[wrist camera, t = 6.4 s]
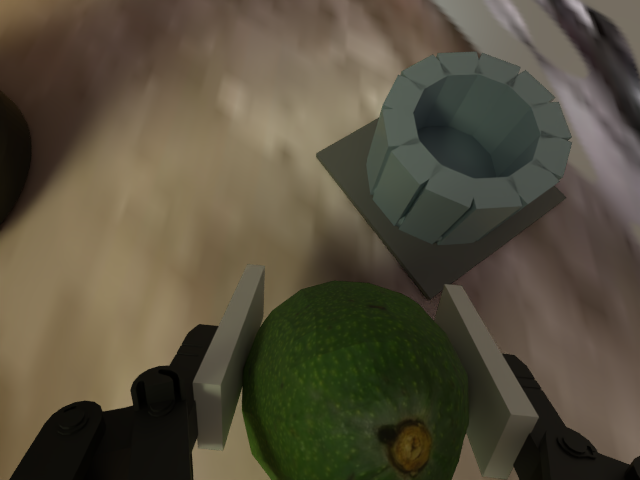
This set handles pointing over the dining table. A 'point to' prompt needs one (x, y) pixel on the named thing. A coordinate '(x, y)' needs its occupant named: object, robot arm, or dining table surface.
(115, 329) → the dining table surface
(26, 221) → the dining table surface
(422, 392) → the avocado
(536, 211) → the placemat
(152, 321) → the dining table surface
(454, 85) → the bowl
